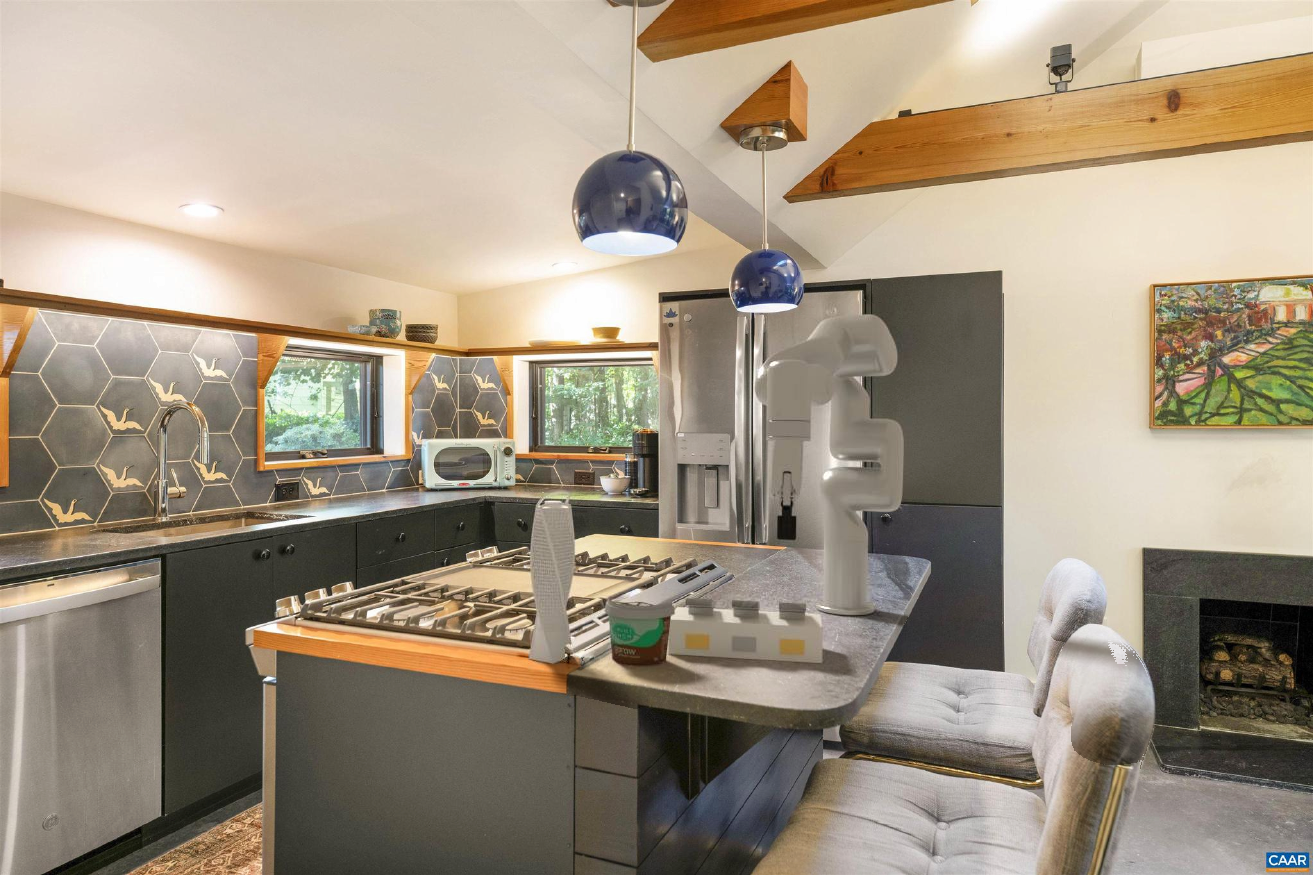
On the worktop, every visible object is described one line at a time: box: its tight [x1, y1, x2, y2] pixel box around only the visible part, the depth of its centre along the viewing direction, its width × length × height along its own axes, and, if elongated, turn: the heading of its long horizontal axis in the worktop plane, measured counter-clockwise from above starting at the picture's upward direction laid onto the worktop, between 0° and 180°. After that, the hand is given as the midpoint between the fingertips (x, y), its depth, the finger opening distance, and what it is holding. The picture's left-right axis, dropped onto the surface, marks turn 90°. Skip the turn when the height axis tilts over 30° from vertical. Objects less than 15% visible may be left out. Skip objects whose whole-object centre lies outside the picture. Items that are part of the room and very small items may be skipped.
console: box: [668, 606, 824, 664], centre depth 133 cm, size 10×26×7 cm, turn 80°
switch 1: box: [685, 597, 717, 609], centre depth 135 cm, size 8×4×1 cm, turn 171°
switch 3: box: [778, 601, 807, 613], centre depth 132 cm, size 8×4×1 cm, turn 171°
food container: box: [604, 596, 675, 667], centre depth 125 cm, size 12×6×10 cm, turn 70°
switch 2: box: [731, 599, 761, 611], centre depth 133 cm, size 8×4×1 cm, turn 171°
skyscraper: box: [528, 490, 576, 665], centre depth 128 cm, size 8×8×28 cm
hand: (786, 539), depth 129 cm, fingers closed
